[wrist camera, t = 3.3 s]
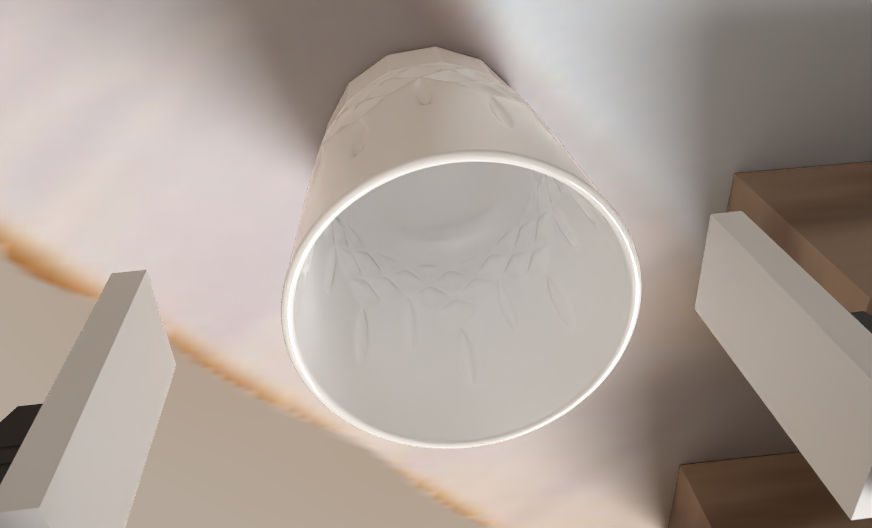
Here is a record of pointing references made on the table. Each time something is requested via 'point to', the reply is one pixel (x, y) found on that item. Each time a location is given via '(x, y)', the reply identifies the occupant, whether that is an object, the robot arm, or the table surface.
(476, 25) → the table surface
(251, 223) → the table surface
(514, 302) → the white cup
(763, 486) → the shelf
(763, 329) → the robot arm
